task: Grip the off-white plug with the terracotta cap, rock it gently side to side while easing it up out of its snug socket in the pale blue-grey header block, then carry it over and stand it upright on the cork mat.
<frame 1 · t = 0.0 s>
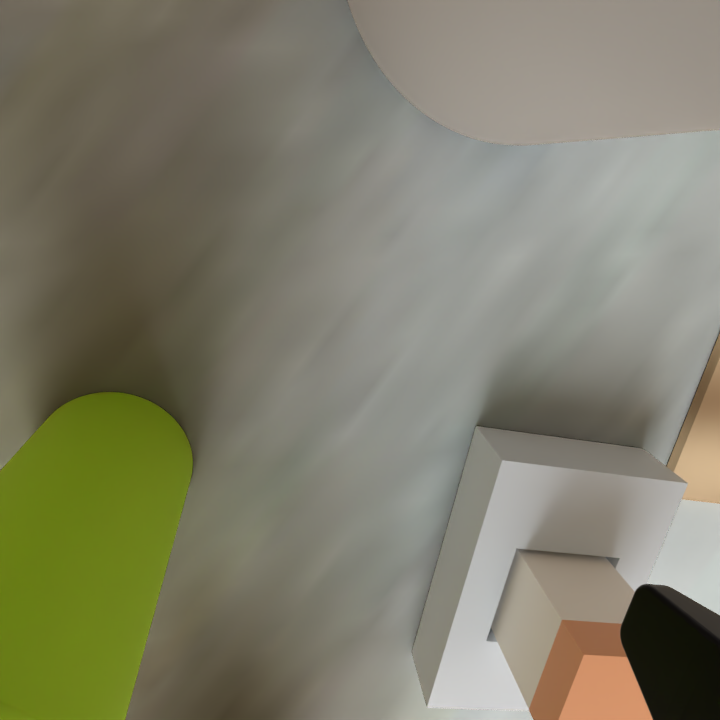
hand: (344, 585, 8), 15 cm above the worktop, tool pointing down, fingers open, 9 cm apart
soap dispenser: (121, 447, 23), on the worktop
plug: (563, 616, 23), in the header
header: (523, 554, 27), on the worktop
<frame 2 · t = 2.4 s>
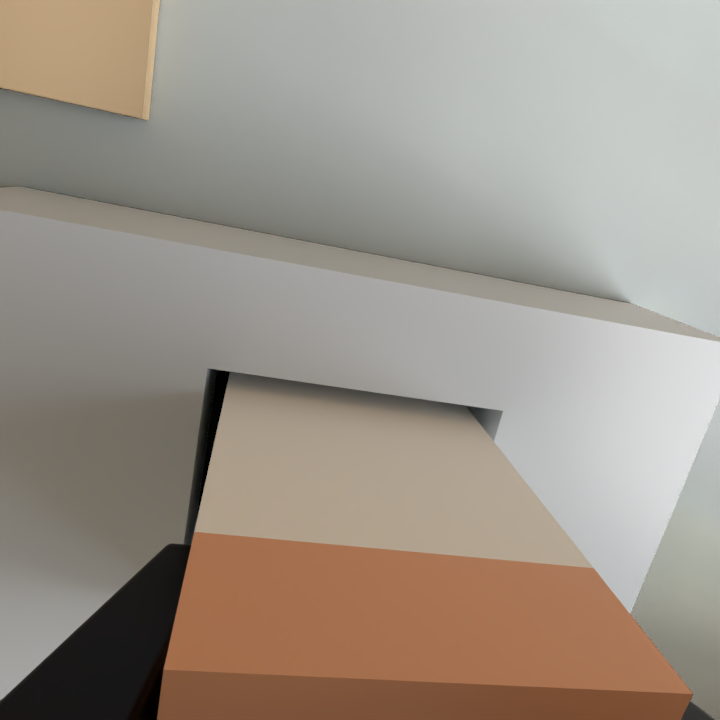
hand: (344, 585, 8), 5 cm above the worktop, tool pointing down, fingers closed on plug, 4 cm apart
plug: (340, 559, 8), in the header, touching gripper
header: (320, 438, 12), on the worktop
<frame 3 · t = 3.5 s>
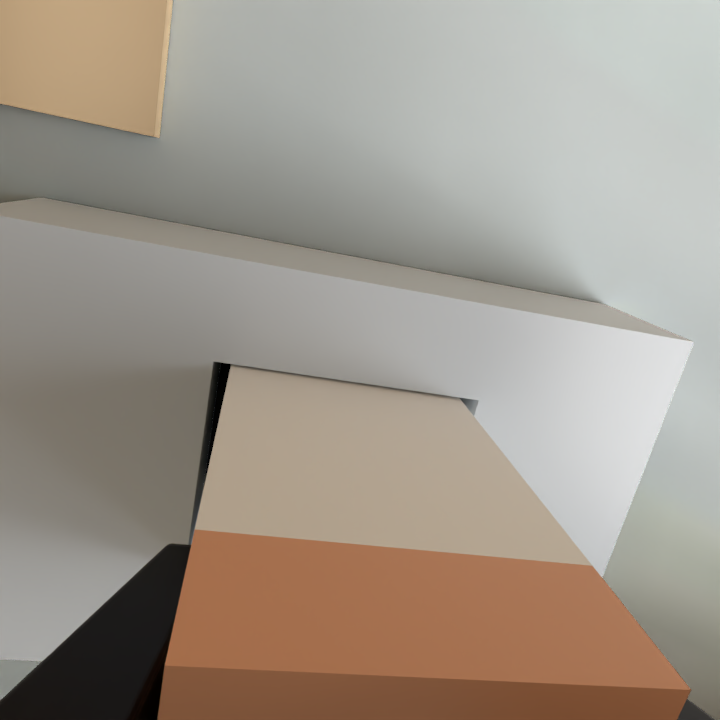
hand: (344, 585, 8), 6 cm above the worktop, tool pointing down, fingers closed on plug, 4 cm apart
plug: (340, 557, 8), in the header, point 5 cm above the worktop, touching gripper
header: (316, 428, 13), on the worktop
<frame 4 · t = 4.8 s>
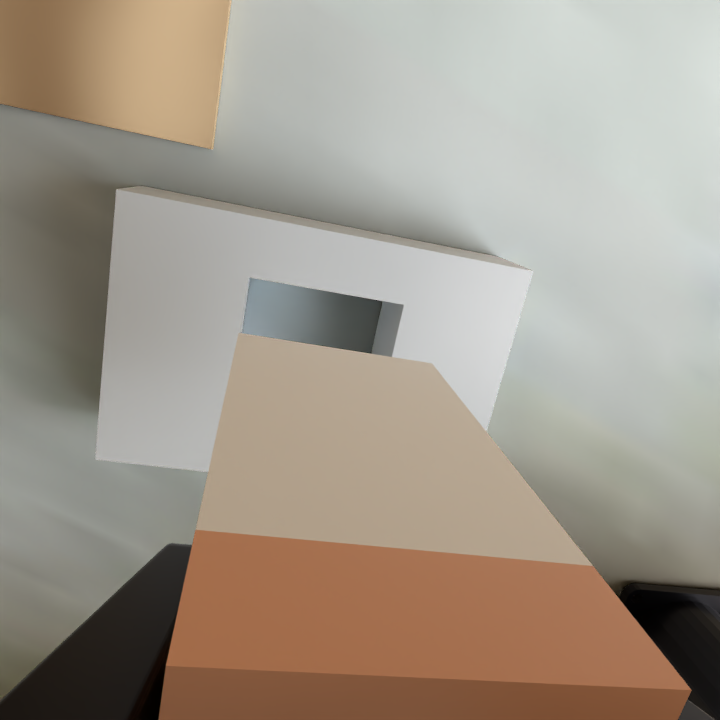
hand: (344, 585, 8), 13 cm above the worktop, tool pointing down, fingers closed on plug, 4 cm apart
plug: (340, 557, 8), point 12 cm above the worktop, touching gripper
header: (309, 337, 20), on the worktop
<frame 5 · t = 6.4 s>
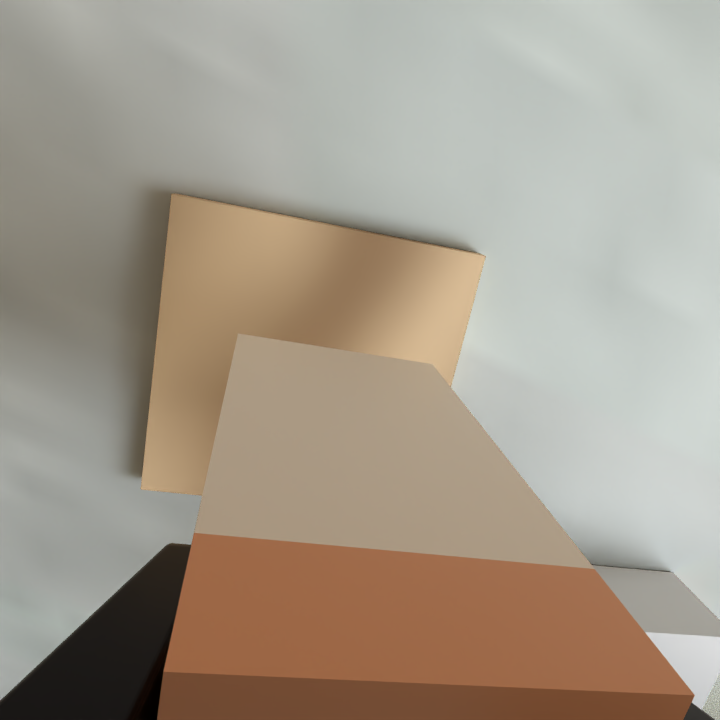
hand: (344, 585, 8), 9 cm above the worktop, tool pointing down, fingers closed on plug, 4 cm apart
plug: (340, 559, 8), point 8 cm above the worktop, touching gripper
header: (485, 653, 20), on the worktop
mat: (307, 369, 16), on the worktop
when the fingers open (5 cm above the worktop, at t = 7.4 s): plug stays where it is, resting on mat.
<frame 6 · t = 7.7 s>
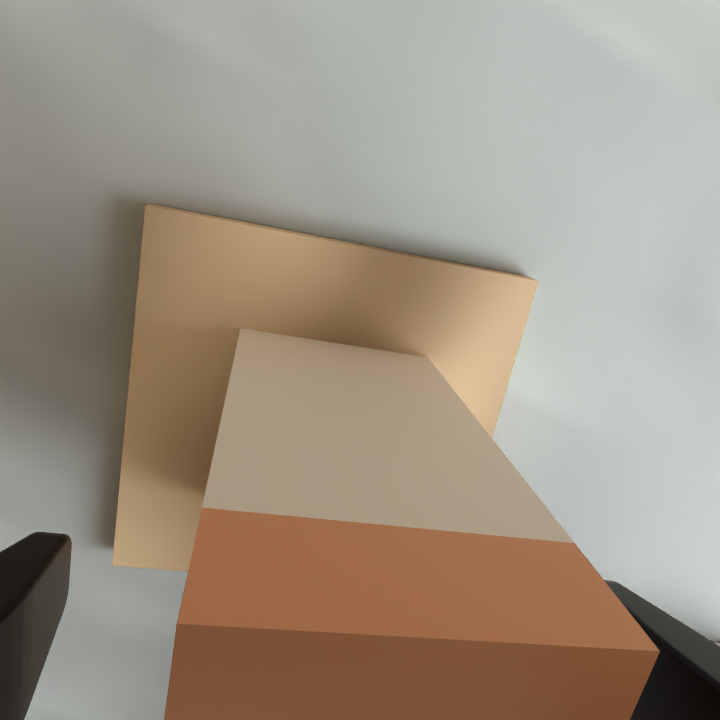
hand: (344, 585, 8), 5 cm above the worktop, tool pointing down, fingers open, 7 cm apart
plug: (338, 541, 9), on the mat
mat: (317, 418, 13), on the worktop
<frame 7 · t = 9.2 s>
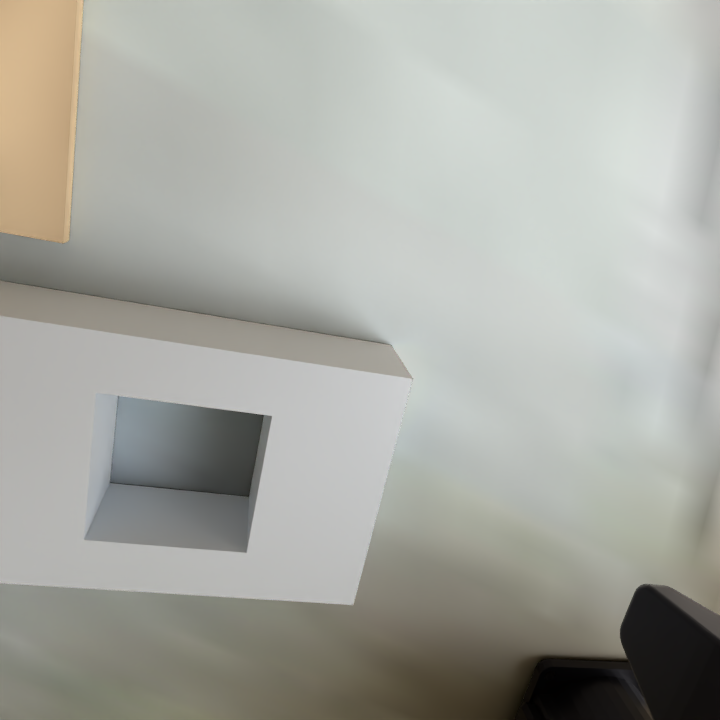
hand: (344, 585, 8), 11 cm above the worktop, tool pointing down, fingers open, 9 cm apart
header: (189, 430, 19), on the worktop
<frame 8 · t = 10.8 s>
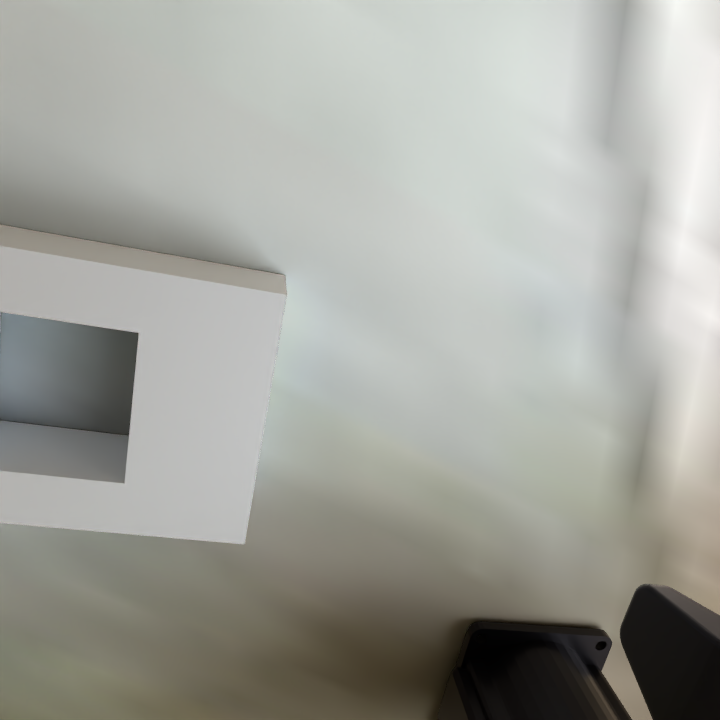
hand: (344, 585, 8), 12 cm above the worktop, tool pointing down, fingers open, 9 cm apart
header: (78, 364, 18), on the worktop
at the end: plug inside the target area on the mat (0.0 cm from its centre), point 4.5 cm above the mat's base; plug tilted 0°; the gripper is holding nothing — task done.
